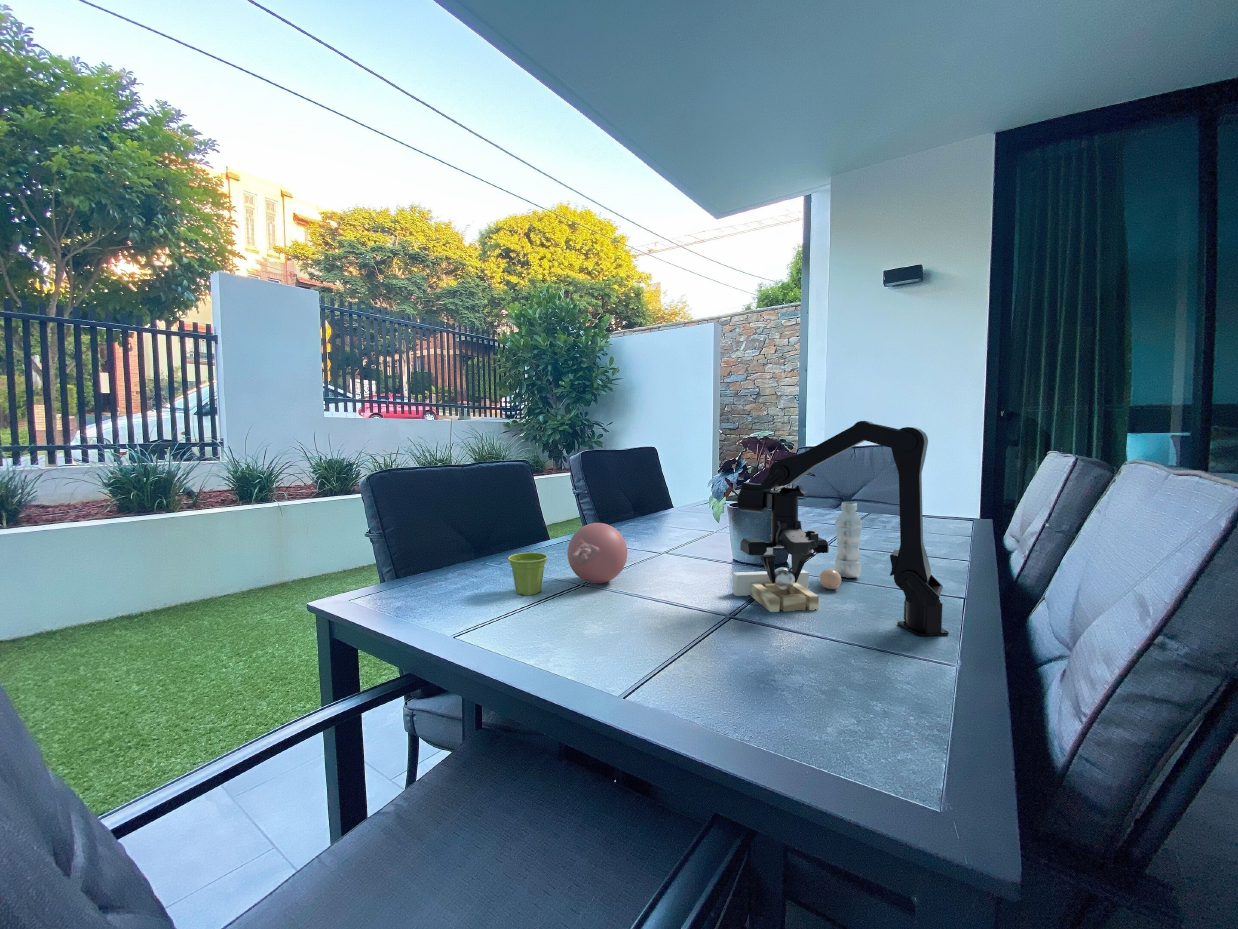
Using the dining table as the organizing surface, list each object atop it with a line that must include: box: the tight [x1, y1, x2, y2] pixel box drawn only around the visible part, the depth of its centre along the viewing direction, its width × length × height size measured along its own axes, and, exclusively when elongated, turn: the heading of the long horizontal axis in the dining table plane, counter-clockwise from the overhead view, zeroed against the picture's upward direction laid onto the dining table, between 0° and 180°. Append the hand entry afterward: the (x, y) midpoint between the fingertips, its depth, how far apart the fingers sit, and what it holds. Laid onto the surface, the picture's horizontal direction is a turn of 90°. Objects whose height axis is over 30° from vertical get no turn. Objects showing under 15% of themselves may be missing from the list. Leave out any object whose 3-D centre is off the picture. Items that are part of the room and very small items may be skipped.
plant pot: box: [507, 552, 549, 596], centre depth 125 cm, size 9×9×9 cm
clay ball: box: [819, 568, 842, 590], centre depth 127 cm, size 5×5×5 cm
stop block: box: [732, 569, 810, 597], centre depth 124 cm, size 2×18×5 cm, turn 97°
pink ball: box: [567, 522, 628, 584], centre depth 130 cm, size 15×20×15 cm
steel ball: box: [774, 566, 795, 590], centre depth 117 cm, size 5×5×5 cm
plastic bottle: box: [833, 501, 863, 579], centre depth 137 cm, size 6×7×20 cm
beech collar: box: [750, 583, 820, 613], centre depth 117 cm, size 11×11×3 cm
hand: (783, 582), depth 117 cm, fingers closed on steel ball, 5 cm apart
